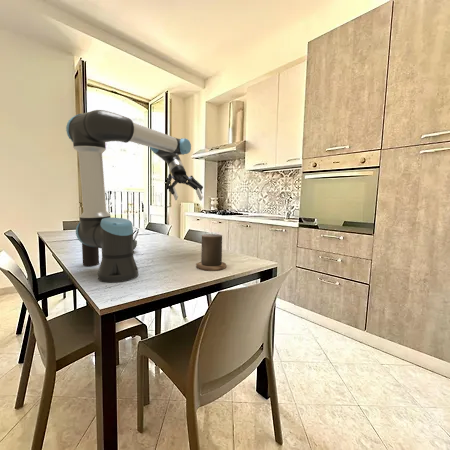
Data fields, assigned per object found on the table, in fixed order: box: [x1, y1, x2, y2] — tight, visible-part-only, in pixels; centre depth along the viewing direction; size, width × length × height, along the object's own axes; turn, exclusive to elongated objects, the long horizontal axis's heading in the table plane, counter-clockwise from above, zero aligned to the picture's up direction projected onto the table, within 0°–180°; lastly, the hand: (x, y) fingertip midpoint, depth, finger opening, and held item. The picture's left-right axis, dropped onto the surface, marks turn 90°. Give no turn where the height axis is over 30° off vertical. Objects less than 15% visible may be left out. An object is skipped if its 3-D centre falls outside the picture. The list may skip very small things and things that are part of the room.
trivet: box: [195, 261, 227, 272], centre depth 121 cm, size 14×14×1 cm
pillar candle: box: [200, 233, 223, 266], centre depth 121 cm, size 10×10×15 cm
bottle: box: [81, 243, 100, 267], centre depth 120 cm, size 7×7×20 cm
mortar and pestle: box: [133, 239, 138, 254], centre depth 147 cm, size 11×9×12 cm
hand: (189, 198), depth 129 cm, fingers open, 13 cm apart
